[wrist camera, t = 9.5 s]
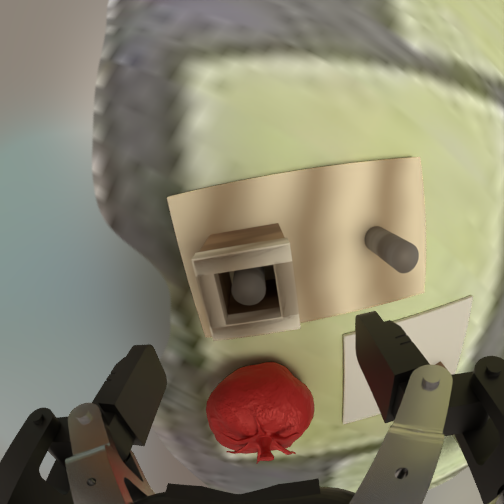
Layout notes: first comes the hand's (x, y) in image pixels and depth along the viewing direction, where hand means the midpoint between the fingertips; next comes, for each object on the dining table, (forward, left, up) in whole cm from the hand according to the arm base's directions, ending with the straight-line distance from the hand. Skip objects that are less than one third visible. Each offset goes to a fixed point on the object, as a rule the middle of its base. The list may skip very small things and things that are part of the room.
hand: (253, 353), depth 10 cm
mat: (-15, +16, -12) cm, 25 cm away
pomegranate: (+2, +14, -13) cm, 19 cm away
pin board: (-5, 0, -12) cm, 13 cm away
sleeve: (0, 0, -11) cm, 11 cm away
